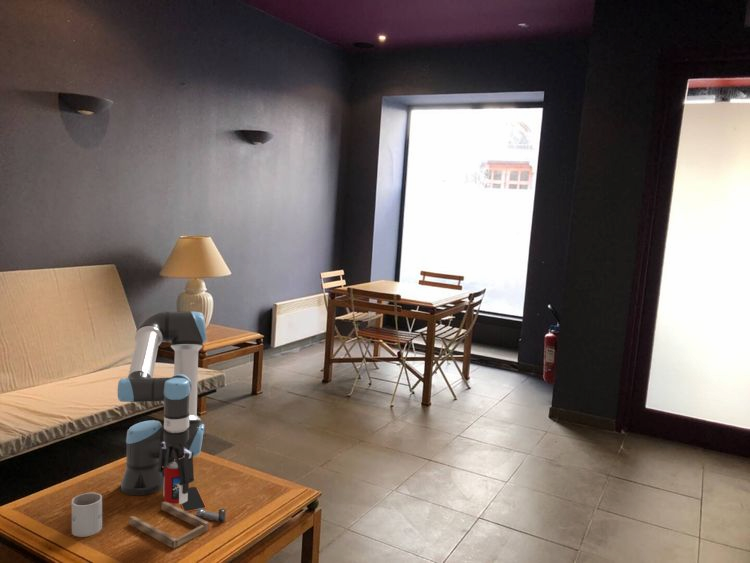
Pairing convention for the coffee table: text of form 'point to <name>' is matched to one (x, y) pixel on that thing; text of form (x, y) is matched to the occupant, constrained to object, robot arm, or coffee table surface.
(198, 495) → the smartphone
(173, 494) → the beverage can
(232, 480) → the coffee table surface
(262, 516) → the coffee table surface
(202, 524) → the bay
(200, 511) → the crank handle
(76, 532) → the mug
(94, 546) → the coffee table surface
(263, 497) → the coffee table surface
